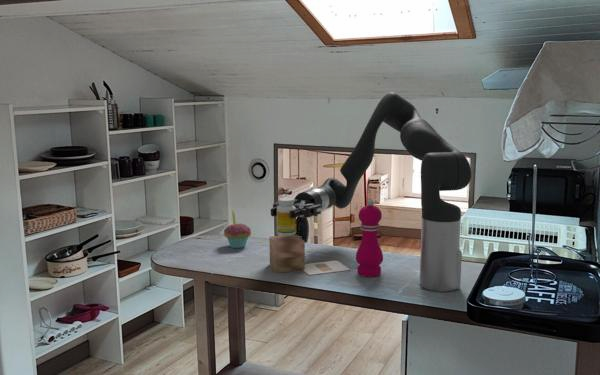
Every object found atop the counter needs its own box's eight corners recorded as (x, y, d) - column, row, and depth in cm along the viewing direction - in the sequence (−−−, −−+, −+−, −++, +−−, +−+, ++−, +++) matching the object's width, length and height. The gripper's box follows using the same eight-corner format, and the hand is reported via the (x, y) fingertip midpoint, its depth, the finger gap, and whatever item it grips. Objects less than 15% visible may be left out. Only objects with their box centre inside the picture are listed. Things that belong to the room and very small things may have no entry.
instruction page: (336, 261, 160) (336, 260, 160) (350, 270, 151) (350, 269, 151) (297, 265, 155) (297, 264, 155) (308, 275, 147) (308, 274, 147)
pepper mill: (382, 278, 144) (383, 202, 141) (354, 277, 146) (355, 201, 142) (383, 270, 151) (385, 197, 148) (356, 268, 153) (357, 196, 149)
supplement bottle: (275, 231, 155) (274, 197, 153) (294, 230, 156) (293, 196, 154) (279, 236, 150) (278, 201, 148) (298, 235, 151) (297, 200, 149)
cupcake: (240, 251, 170) (239, 212, 168) (218, 247, 175) (217, 209, 173) (256, 244, 177) (255, 207, 175) (235, 241, 182) (234, 205, 180)
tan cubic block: (297, 261, 159) (297, 234, 158) (304, 270, 152) (304, 241, 150) (269, 264, 157) (269, 236, 156) (276, 272, 149) (275, 243, 148)
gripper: (290, 187, 167) (258, 197, 152) (333, 191, 160) (304, 202, 145) (291, 212, 168) (259, 224, 154) (333, 217, 161) (304, 230, 147)
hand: (281, 213), depth 150 cm, fingers closed on supplement bottle, 5 cm apart
